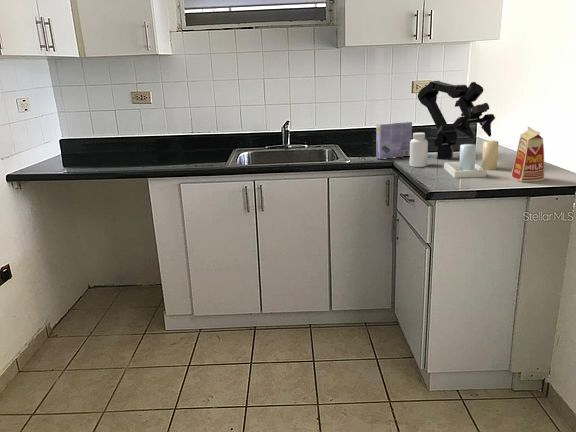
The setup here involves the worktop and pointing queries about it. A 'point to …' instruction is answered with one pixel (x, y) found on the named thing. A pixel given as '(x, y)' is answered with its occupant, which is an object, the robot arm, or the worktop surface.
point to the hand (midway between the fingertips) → (481, 137)
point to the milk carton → (529, 158)
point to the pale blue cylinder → (467, 157)
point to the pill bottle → (418, 150)
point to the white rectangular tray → (454, 171)
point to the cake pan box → (393, 140)
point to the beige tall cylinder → (490, 155)
